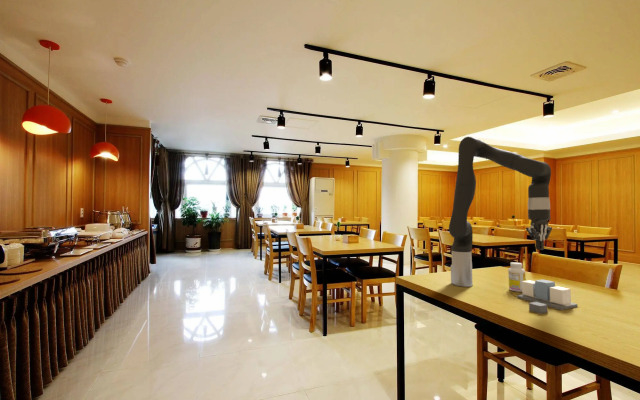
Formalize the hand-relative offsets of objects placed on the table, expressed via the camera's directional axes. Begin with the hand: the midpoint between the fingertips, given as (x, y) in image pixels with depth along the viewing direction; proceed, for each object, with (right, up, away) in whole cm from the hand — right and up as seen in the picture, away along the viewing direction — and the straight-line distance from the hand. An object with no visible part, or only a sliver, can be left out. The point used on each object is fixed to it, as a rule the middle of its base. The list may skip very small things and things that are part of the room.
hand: (539, 249), depth 121 cm
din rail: (+1, -21, -2) cm, 22 cm away
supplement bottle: (+1, -22, +15) cm, 27 cm away
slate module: (+1, -20, -2) cm, 20 cm away
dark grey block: (-10, -21, -12) cm, 27 cm away
